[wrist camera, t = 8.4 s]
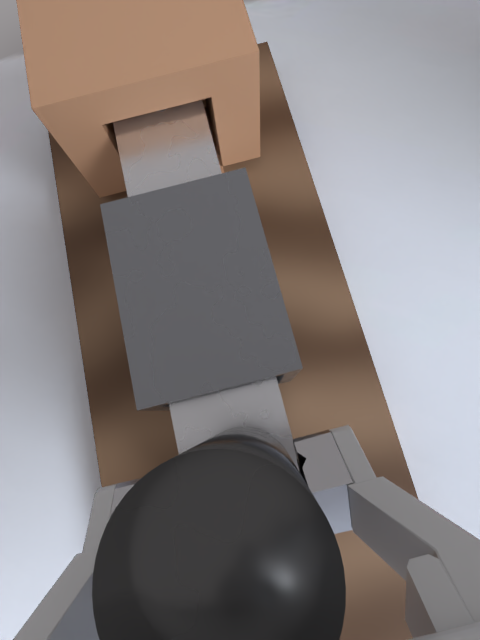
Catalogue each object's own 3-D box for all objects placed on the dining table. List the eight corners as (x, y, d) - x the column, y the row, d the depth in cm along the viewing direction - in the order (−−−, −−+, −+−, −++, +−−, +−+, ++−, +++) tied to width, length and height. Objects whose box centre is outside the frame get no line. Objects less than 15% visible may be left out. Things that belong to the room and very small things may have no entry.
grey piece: (304, 501, 17) (401, 714, 5) (214, 524, 17) (102, 790, 5) (199, 105, 22) (125, -255, 10) (129, 122, 22) (-27, -216, 10)
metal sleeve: (290, 381, 19) (303, 368, 13) (175, 410, 19) (136, 410, 13) (250, 234, 21) (245, 167, 15) (145, 261, 21) (100, 204, 15)
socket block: (260, 163, 22) (259, 50, 15) (104, 203, 22) (31, 108, 15) (234, 78, 23) (223, -61, 16) (88, 115, 23) (15, -9, 16)
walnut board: (491, 754, 16) (514, 788, 15) (169, 837, 16) (160, 878, 15) (266, 63, 25) (267, 41, 24) (56, 116, 25) (43, 98, 24)
